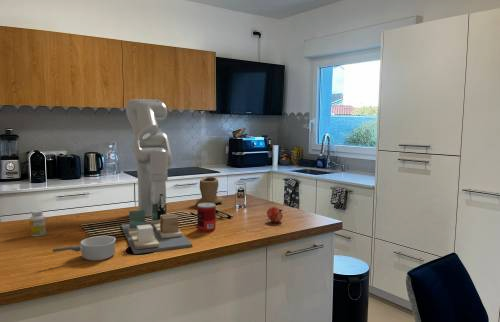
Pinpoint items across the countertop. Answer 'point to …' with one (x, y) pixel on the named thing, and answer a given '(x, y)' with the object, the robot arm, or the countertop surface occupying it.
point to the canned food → (206, 217)
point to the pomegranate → (274, 214)
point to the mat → (163, 242)
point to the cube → (169, 223)
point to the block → (144, 233)
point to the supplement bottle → (37, 223)
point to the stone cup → (209, 190)
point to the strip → (156, 223)
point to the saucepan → (94, 248)
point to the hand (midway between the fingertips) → (159, 216)
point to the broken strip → (136, 220)
